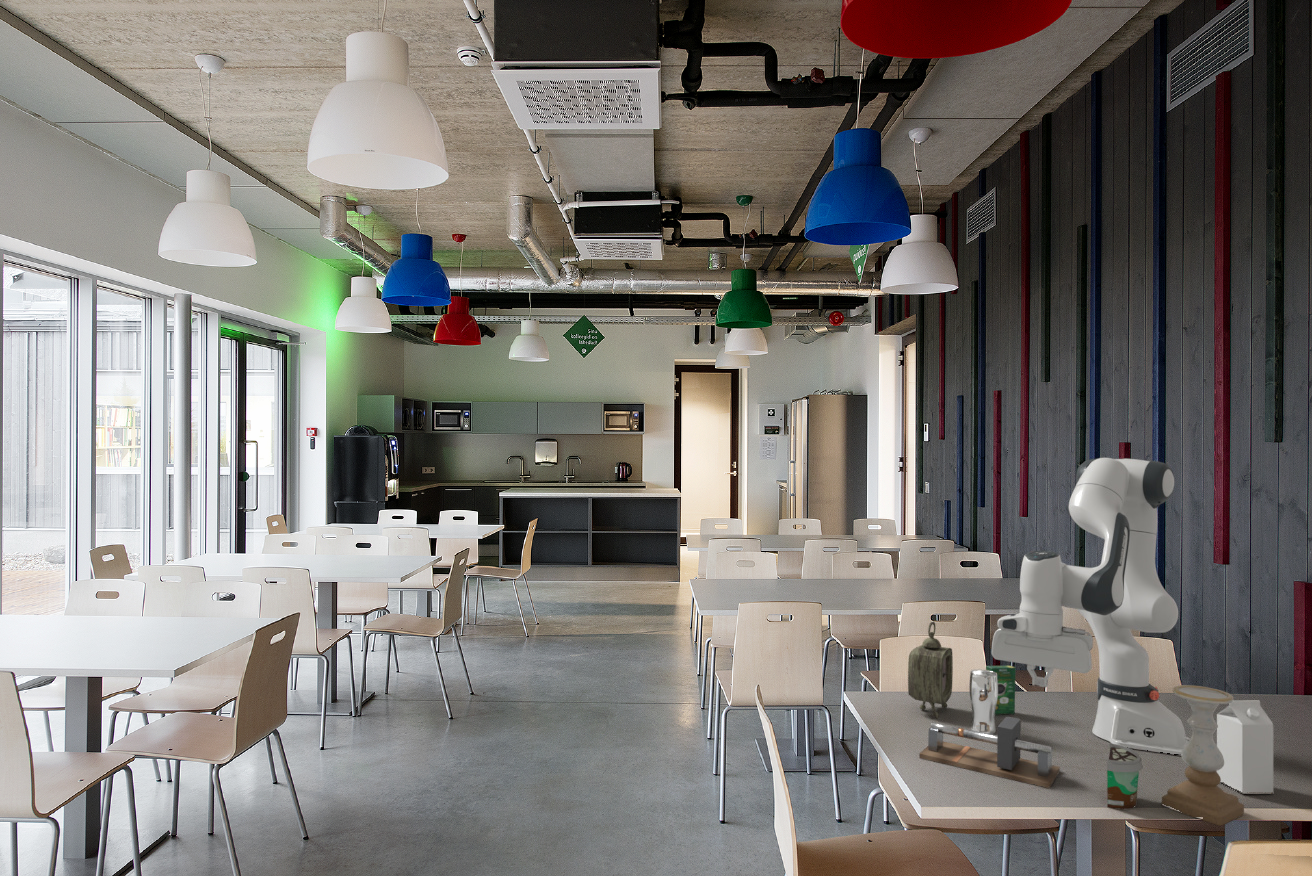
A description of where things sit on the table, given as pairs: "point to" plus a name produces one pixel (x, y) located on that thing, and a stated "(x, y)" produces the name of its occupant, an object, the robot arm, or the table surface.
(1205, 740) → the candle holder
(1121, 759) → the food container
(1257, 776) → the milk carton
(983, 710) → the beer glass
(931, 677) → the tabletop clock
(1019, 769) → the board
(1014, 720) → the collar
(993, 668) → the coffee box
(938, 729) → the linear slide rail
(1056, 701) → the table surface
